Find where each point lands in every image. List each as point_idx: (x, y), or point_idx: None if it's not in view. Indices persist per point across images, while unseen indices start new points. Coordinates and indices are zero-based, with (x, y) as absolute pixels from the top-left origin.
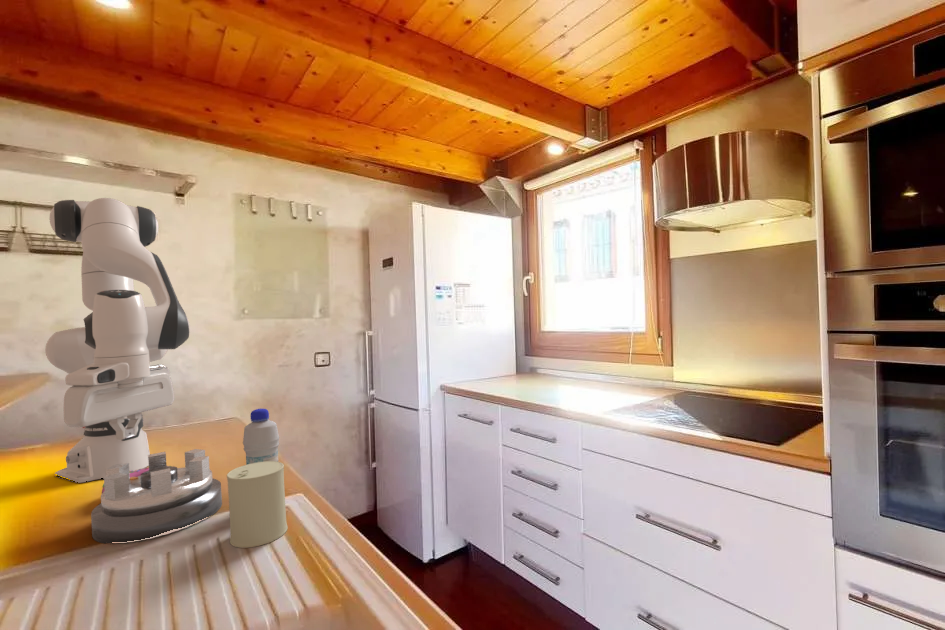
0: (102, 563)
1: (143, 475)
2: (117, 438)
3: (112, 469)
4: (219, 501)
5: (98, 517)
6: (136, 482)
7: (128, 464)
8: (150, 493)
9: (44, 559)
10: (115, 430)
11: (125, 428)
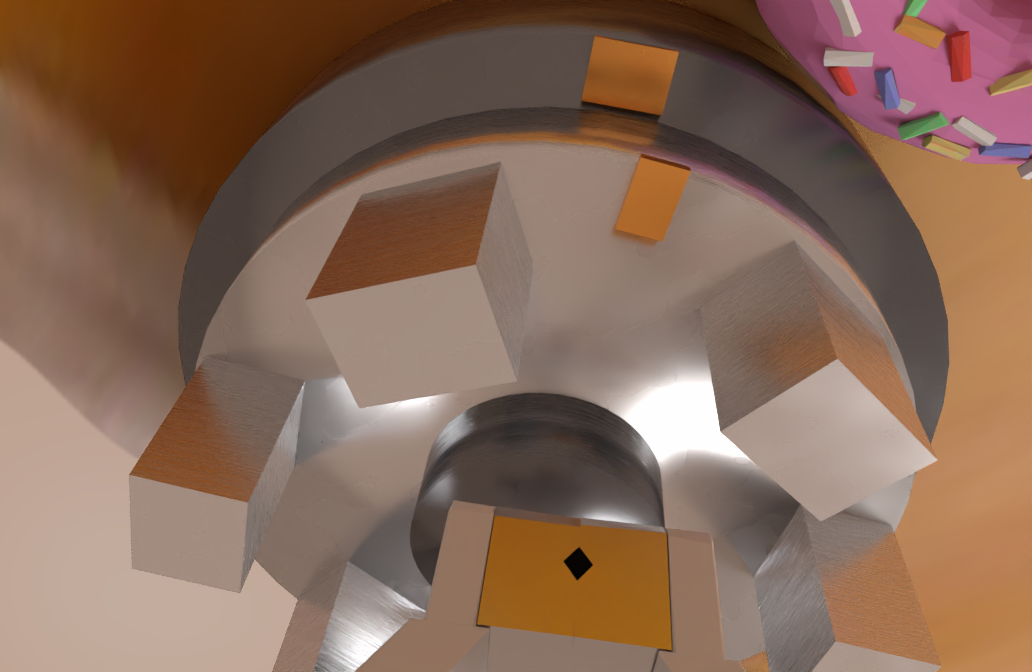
0: (106, 414)
1: (443, 503)
2: (452, 515)
3: (333, 355)
4: None
5: (203, 280)
6: (547, 311)
7: (508, 375)
8: (349, 554)
9: (10, 99)
10: (403, 634)
11: (597, 661)
